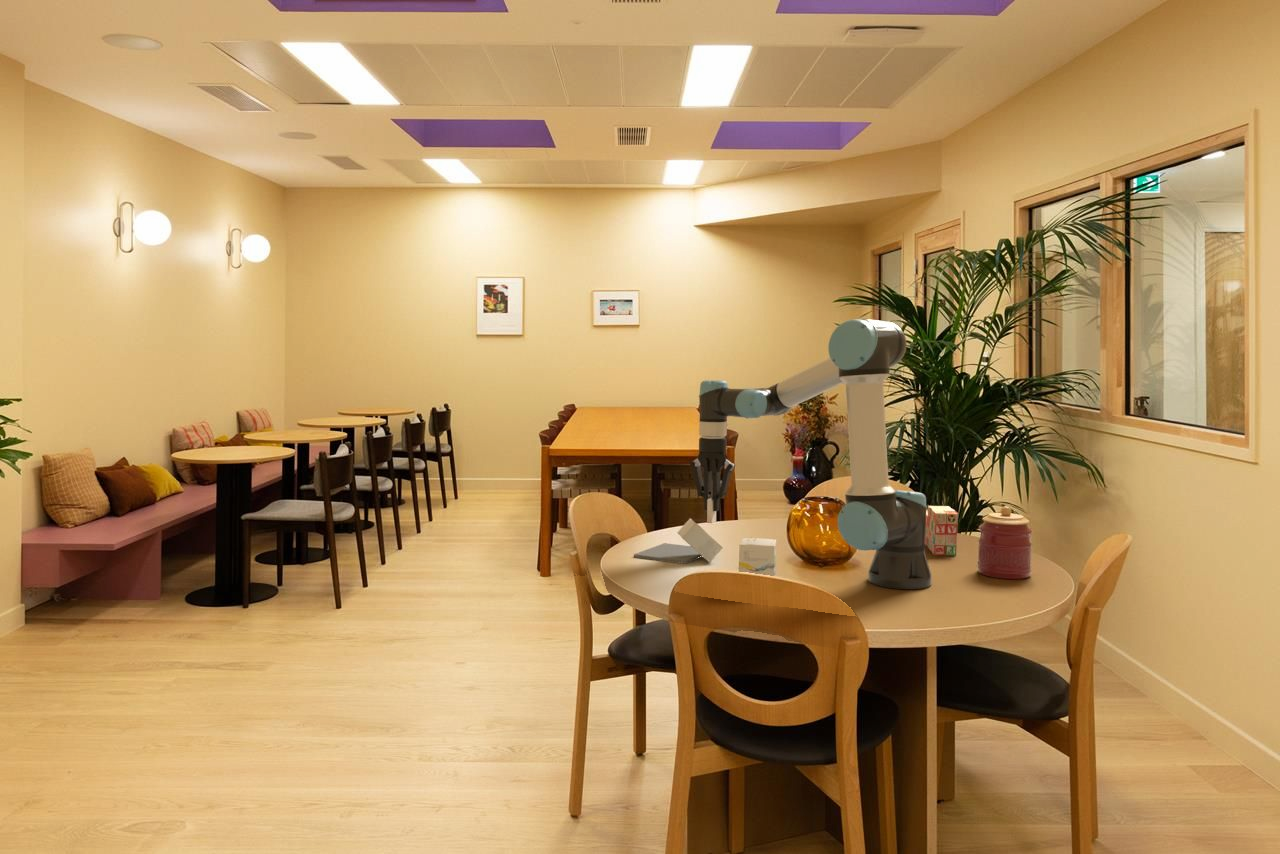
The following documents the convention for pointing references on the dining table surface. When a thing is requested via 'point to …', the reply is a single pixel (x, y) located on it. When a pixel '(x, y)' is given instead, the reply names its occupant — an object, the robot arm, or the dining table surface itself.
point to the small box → (700, 540)
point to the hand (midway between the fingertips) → (711, 522)
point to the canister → (1005, 545)
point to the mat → (669, 553)
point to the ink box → (758, 556)
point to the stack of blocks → (941, 530)
